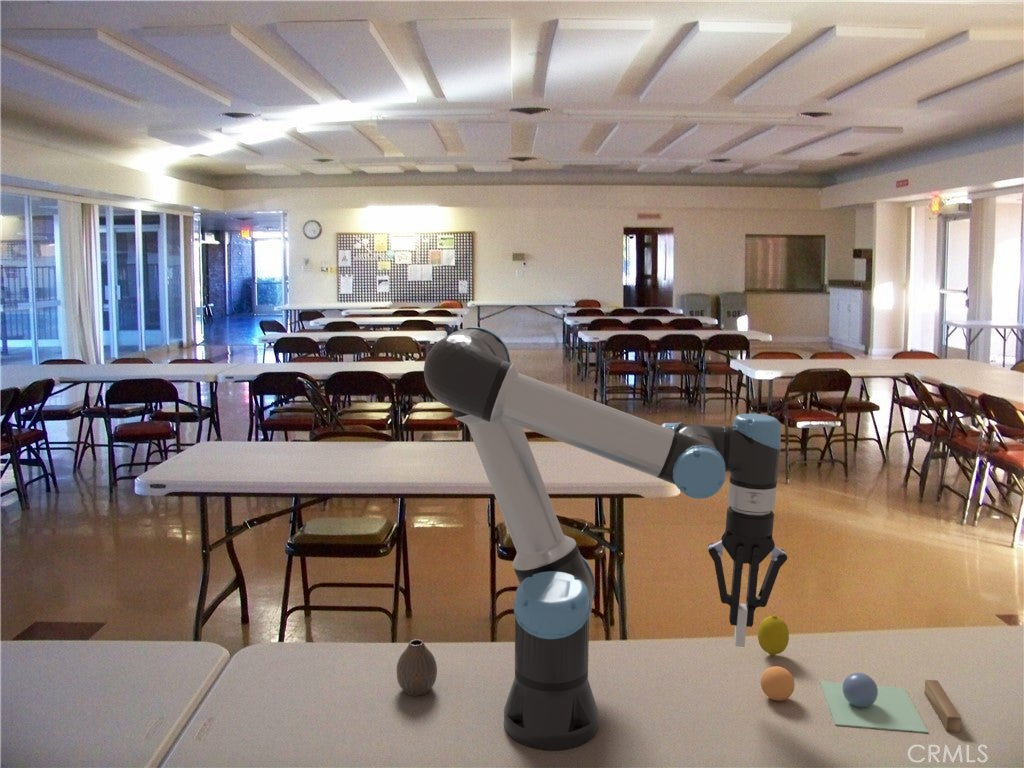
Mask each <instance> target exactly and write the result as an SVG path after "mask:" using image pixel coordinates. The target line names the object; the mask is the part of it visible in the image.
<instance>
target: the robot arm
mask: <svg viewBox="0 0 1024 768" xmlns="http://www.w3.org/2000/svg"><path fill="white" fill-rule="evenodd" d="M423 377H424V382H425V384H426V388H427V389H428V391H429V393H430V394H431V395H432V396H433V397H434V398H435V399H436V401H438V402H440V403H441V404H442V405H444V406H447V407H448V408H450V409H451V412H452V414H453V417H454V419H455V420H457V421H460V422H462V423H464V424H466V426H467V428H468V430H469V433H470V436H471V437H472V441H473V444H474V445H475V448H476V451H477V453H478V457H479V459H480V461H481V464H482V466H483V468H484V471H485V474H486V477H487V479H488V481H489V484H490V486H491V489H492V492H493V494H494V497H495V500H496V502H497V505H498V508H499V510H500V513H501V515H502V517H503V520H504V524H505V526H506V527H507V530H508V533H509V535H510V538H511V541H512V544H513V546H514V548H515V551H516V554H515V556H514V559H513V561H512V564H511V565H512V568H513V570H514V573H515V575H516V578H517V580H518V584H519V585H518V586H517V588H516V591H515V597H514V601H513V613H514V679H513V680H512V685H511V688H510V690H509V692H508V693H509V694H508V696H507V698H506V702H505V704H504V709H503V727H504V730H505V732H506V733H507V734H508V735H509V736H510V737H511V739H513V740H515V741H517V742H518V743H521V744H522V745H525V746H528V747H532V748H534V749H535V748H536V749H541V750H548V751H550V750H565V749H566V750H567V749H570V748H575V747H577V746H578V747H579V746H581V745H583V744H585V743H587V742H588V741H590V740H591V739H593V738H594V736H595V735H596V733H597V732H598V728H599V710H598V705H597V703H596V700H595V697H594V696H595V695H594V693H593V690H592V688H591V685H590V682H589V642H590V641H589V639H590V637H589V636H590V625H591V616H592V609H593V602H594V598H595V594H596V593H595V592H596V581H595V576H594V573H593V570H592V567H591V565H590V564H589V562H588V561H587V559H586V558H584V557H583V555H582V554H581V552H580V549H579V547H578V544H577V542H576V539H574V538H573V537H570V536H568V535H566V534H564V533H563V530H562V527H561V525H560V521H559V520H558V517H557V514H556V511H555V509H554V506H553V504H552V501H551V497H550V496H549V493H548V490H547V488H546V485H545V483H544V479H543V477H542V475H541V472H540V470H539V467H538V464H537V462H536V460H535V457H534V454H533V451H532V448H531V445H530V443H529V440H528V438H527V434H526V433H525V431H524V429H526V430H530V431H532V432H533V433H534V432H535V433H538V434H540V435H543V436H545V437H549V438H550V439H553V440H555V441H559V442H562V443H564V444H567V445H569V446H572V447H575V448H578V449H580V450H582V451H585V452H588V453H591V454H593V455H595V456H599V457H601V458H603V459H606V460H609V461H612V462H615V463H617V464H620V465H623V466H626V467H628V468H631V469H634V470H637V471H639V472H641V473H644V474H647V475H650V476H652V477H654V478H658V479H661V480H662V481H664V482H667V483H670V484H673V485H675V487H677V488H678V490H680V491H681V493H682V494H684V495H685V496H688V497H689V498H692V499H696V500H702V499H707V498H711V497H712V496H714V495H716V494H717V493H718V492H719V491H720V490H721V488H722V487H723V485H724V484H725V481H726V480H725V479H726V473H729V482H728V494H727V504H728V507H727V509H726V519H725V529H724V533H723V535H722V536H721V539H720V540H719V541H718V542H715V543H713V542H711V543H709V544H708V545H707V549H708V554H709V556H710V557H711V559H712V561H713V564H714V570H715V574H716V579H717V585H718V591H719V596H720V597H719V598H720V602H721V603H722V604H725V605H728V606H729V614H728V615H729V617H728V619H729V620H728V621H729V625H731V626H734V636H733V641H734V646H735V647H739V648H745V645H746V633H747V627H749V628H752V627H753V625H754V620H755V611H756V609H758V608H765V607H766V606H767V604H768V601H769V599H770V597H771V593H772V591H773V587H774V586H775V582H776V580H777V578H778V577H777V576H778V574H779V573H780V572H779V571H780V569H781V567H782V566H783V565H784V564H785V563H786V562H787V560H788V555H787V553H786V551H785V550H784V549H781V548H779V547H778V546H776V545H775V544H776V543H775V540H774V538H773V531H774V521H775V513H774V510H775V508H776V499H777V498H776V496H777V495H776V494H777V485H778V484H777V483H778V473H779V464H780V456H781V450H782V446H781V444H782V443H781V438H782V436H781V435H782V424H781V422H780V421H779V420H778V418H776V417H775V416H771V415H768V414H763V413H762V414H761V413H751V412H750V413H740V414H737V415H736V416H735V417H734V421H733V423H732V425H727V426H726V425H712V424H710V425H709V424H699V423H697V424H696V423H687V422H686V423H684V422H681V421H679V422H664V423H662V424H661V425H660V424H657V423H654V422H651V421H649V420H647V419H643V418H641V417H638V416H636V415H633V414H630V413H627V412H626V411H625V412H624V411H621V410H619V409H616V408H614V407H611V406H608V405H606V404H603V403H600V402H598V401H596V400H593V399H590V398H587V397H585V396H581V395H579V394H577V393H574V392H571V391H568V390H567V389H566V390H565V389H564V388H560V387H558V386H555V385H553V384H550V383H547V382H545V381H541V380H538V379H536V378H534V377H531V376H528V375H525V374H522V373H520V372H519V371H518V368H517V366H516V364H515V363H512V362H511V358H510V352H509V350H508V347H507V346H506V343H505V342H504V341H503V339H502V338H501V337H500V336H499V335H498V334H496V333H495V332H493V331H491V330H489V329H486V328H483V327H478V326H477V327H475V326H470V327H469V326H468V327H465V328H460V329H458V330H456V331H454V332H452V333H450V334H449V335H448V336H445V337H444V338H443V337H442V338H441V339H440V340H438V341H437V342H436V343H435V344H434V345H433V346H432V347H431V349H430V350H429V351H428V353H427V355H426V357H425V360H424V365H423ZM723 549H725V550H726V553H727V554H728V555H729V557H730V559H732V560H733V562H732V563H733V567H732V577H731V587H730V588H731V589H730V593H728V591H727V585H726V578H725V573H724V568H723V561H722V556H723V555H724V550H723ZM770 553H771V554H770ZM769 555H770V558H771V560H770V562H769V565H768V568H767V570H766V573H765V576H764V578H763V581H762V584H761V587H760V589H759V591H758V592H759V593H758V596H757V587H758V577H759V571H760V564H761V563H762V562H763V561H764V560H765V559H766V558H767V557H768V556H769ZM744 564H748V572H747V573H748V576H747V589H746V598H745V601H746V603H742V602H741V603H740V598H741V597H740V596H741V588H742V587H741V585H742V575H743V570H744V569H743V568H744V567H743V566H744Z"/></svg>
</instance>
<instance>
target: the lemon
mask: <svg viewBox="0 0 1024 768" xmlns="http://www.w3.org/2000/svg"><path fill="white" fill-rule="evenodd" d="M789 634H790V633H789V628H788V625H787V624H786V622H785V620H784V619H782V618H781V617H779V616H777V614H772V615H769V616H767V617H765V618H764V619H762V620H761V621H760V624H759V627H758V632H757V640H758V644H759V647H760V648H761V649H762V650H763V651H764V652H766V653H768V654H769V655H770V656H771V657H774V656H775V655H779V654H781V653H783V652H784V651H785V649H787V647H788V645H789V640H790V638H789V637H790V635H789Z"/></svg>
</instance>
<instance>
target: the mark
mask: <svg viewBox="0 0 1024 768" xmlns="http://www.w3.org/2000/svg"><path fill="white" fill-rule="evenodd" d="M819 684H820V686H821V689H822V692H823V694H824V697H825V701H826V703H827V706H828V709H829V711H830V714H831V716H832V720H833V723H834V725H835V726H839V727H840V726H843V727H853V728H854V727H855V728H864V729H875V730H876V729H878V730H888V731H900V732H911V731H912V733H913V732H914V733H924V734H929V730H928V729H927V727H926V725H925V723H924V721H923V720H922V717H921V716H920V714H919V713H918V710H917V708H916V707H915V705H914V703H913V701H912V699H911V698H910V695H909V694H908V692H907V690H906V689H905V687H899V686H898V687H897V686H883V685H877V689H878V696H877V699H876V701H875V702H874V703H873V704H872V705H870V706H868V707H864V708H860V707H856V706H854V705H852V704H850V703H849V702H848V701H847V700H846V698H845V696H844V694H843V690H842V686H843V682H837V681H835V682H832V681H823V680H822V681H821V680H820V681H819ZM919 720H920V721H919Z"/></svg>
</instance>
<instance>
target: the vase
mask: <svg viewBox="0 0 1024 768" xmlns="http://www.w3.org/2000/svg"><path fill="white" fill-rule="evenodd" d="M437 676H438V666H437V661H436V658H435V656H434V655H433V653H432V651H430V649H429V648H428V647H427V646H426V644H425V642H424V641H423V640H421V639H412V640H410V641H409V643H408V644H407V647H406V648H405V649H404V650H403V652H402V653H401V655H400V656H399V658H398V661H397V664H396V681H397V683H398V685H399V687H400V688H401V690H402V691H403V692H404V693H406V694H408V695H410V696H412V697H415V696H416V697H417V696H419V697H420V696H422V695H423V696H424V695H425V694H427V693H428V692H430V690H432V688H433V687H434V685H435V683H436V680H437Z"/></svg>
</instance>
